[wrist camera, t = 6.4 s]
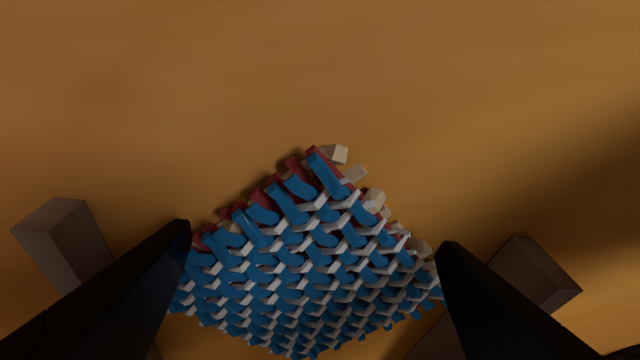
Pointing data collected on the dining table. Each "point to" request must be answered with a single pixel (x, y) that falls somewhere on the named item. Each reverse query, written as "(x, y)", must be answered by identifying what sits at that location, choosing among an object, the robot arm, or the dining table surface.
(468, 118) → the dining table surface
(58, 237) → the box
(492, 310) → the robot arm
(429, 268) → the woven mat
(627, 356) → the french press
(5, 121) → the dining table surface
